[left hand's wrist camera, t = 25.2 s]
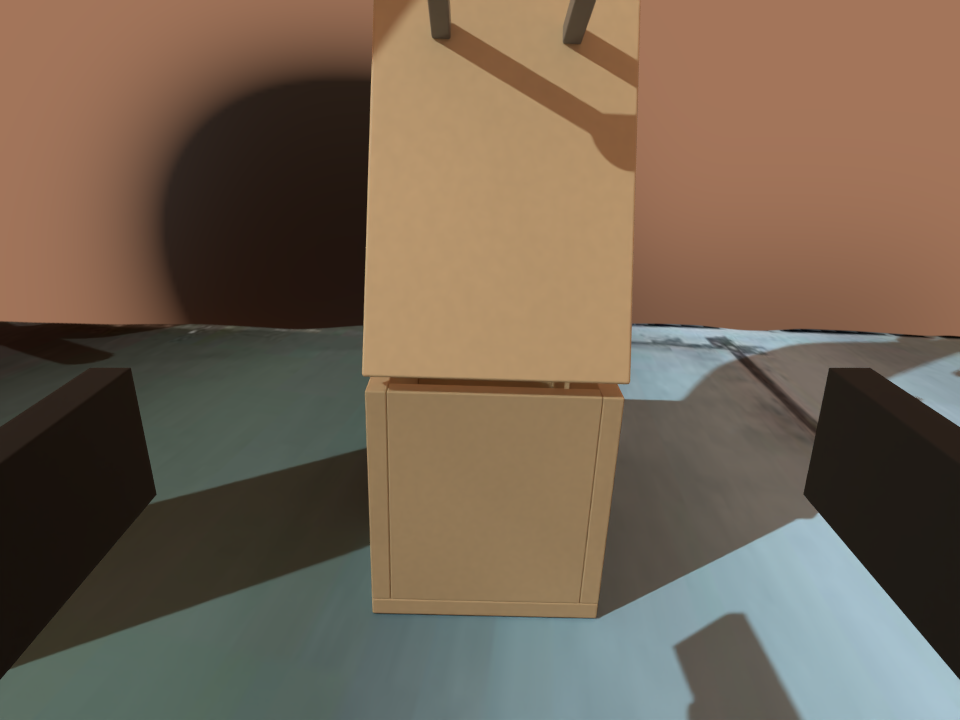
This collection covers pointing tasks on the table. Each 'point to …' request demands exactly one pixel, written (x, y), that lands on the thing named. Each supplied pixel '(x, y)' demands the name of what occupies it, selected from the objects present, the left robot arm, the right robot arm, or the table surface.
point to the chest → (489, 495)
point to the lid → (502, 190)
